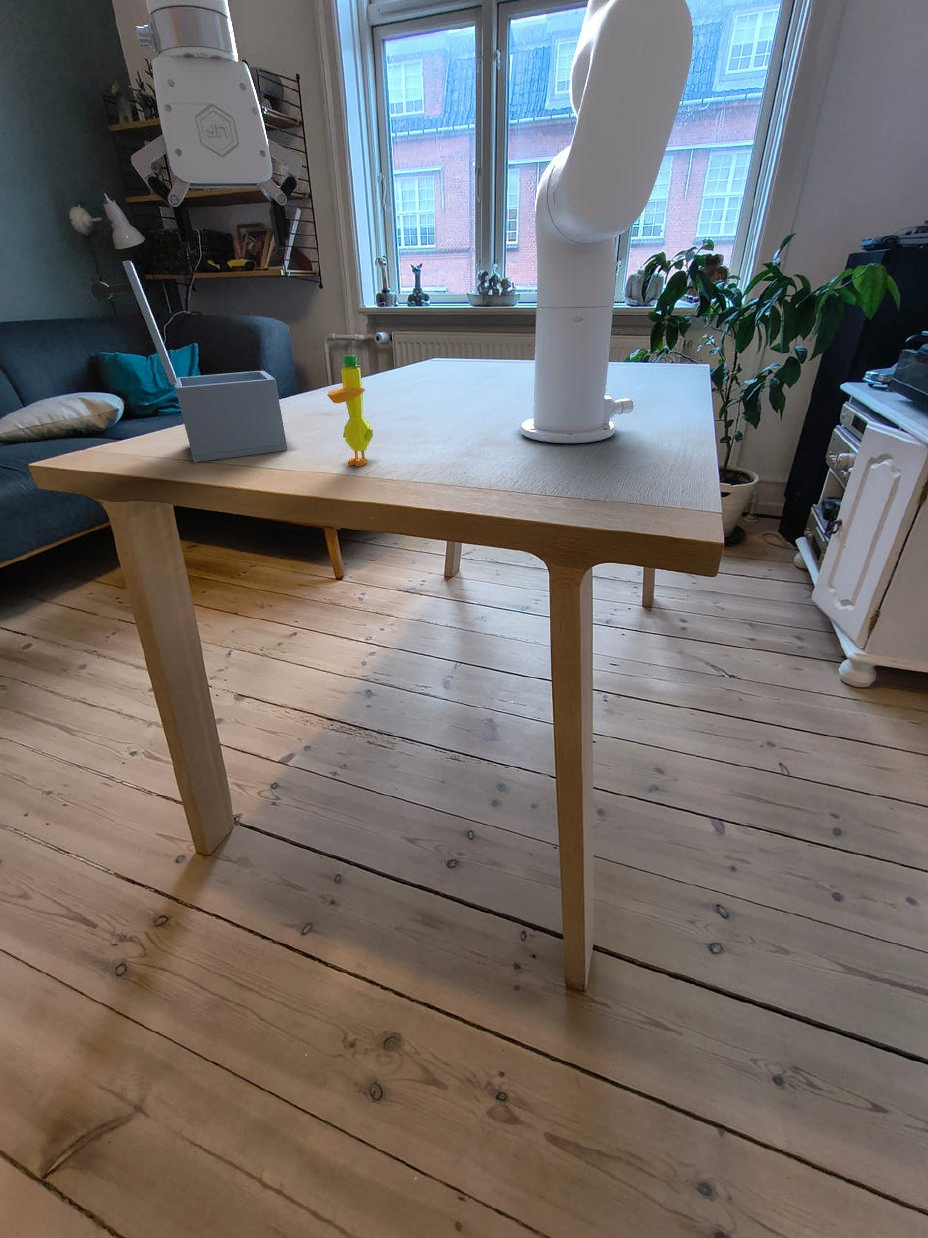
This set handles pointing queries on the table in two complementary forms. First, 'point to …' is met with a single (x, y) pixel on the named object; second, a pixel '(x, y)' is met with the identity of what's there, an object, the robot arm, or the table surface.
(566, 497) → the table surface
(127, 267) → the box lid
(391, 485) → the table surface
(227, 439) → the grey storage bin
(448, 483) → the table surface
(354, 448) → the toy figure
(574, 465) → the table surface
